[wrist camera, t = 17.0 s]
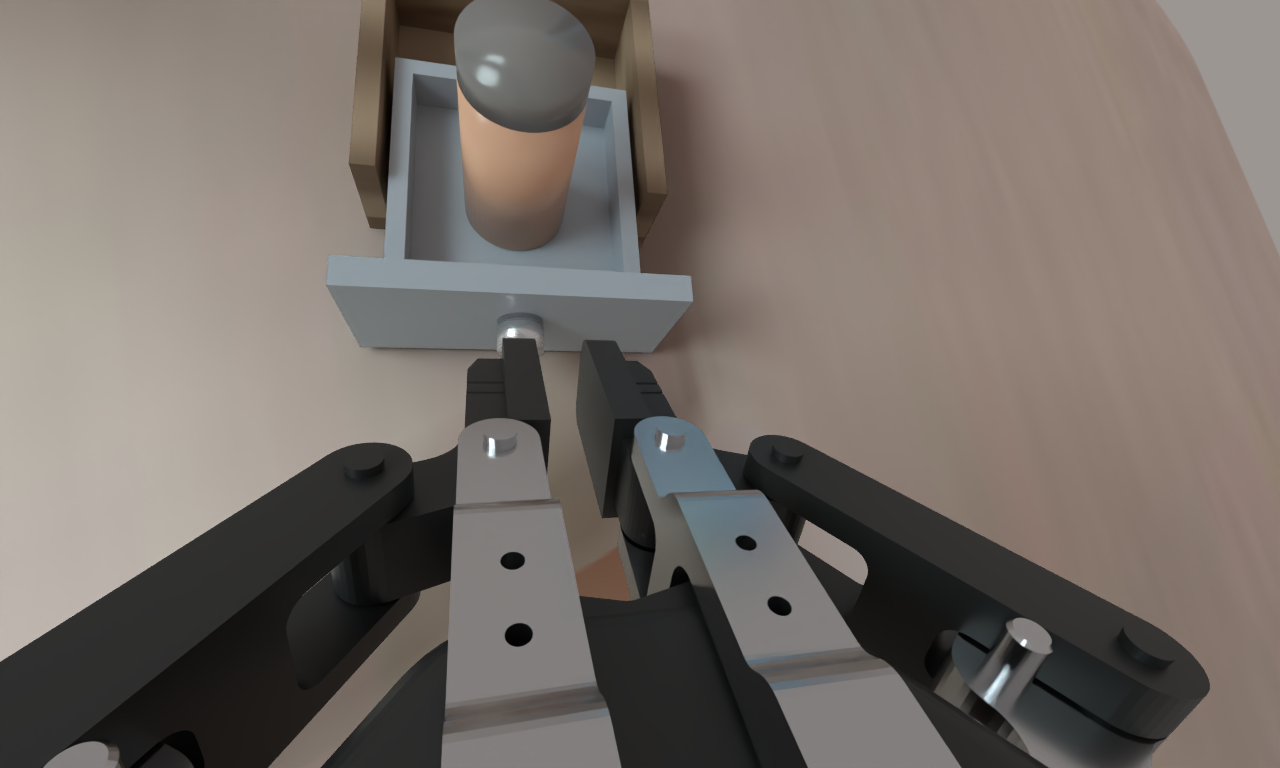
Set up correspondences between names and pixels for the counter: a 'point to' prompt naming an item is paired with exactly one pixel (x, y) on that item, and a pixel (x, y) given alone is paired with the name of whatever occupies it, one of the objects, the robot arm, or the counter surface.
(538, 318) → the grey drawer
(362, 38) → the wooden drawer box
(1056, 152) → the counter surface
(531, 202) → the spice jar
